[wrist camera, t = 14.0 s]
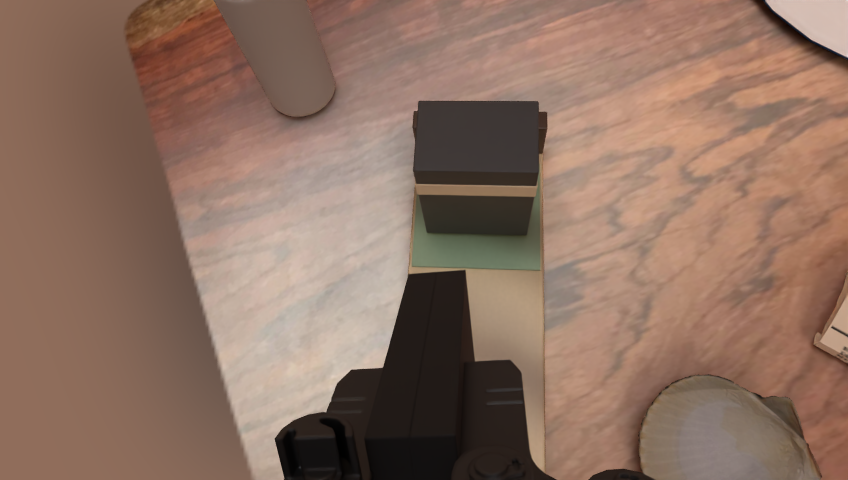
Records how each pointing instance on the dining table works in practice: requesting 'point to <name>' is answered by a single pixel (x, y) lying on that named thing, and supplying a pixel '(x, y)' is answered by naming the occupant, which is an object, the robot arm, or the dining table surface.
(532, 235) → the rail
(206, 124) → the dining table surface
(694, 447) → the seashell
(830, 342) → the newspaper
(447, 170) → the dark grey lidded box
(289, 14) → the beverage can
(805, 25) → the plate
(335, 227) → the dining table surface
